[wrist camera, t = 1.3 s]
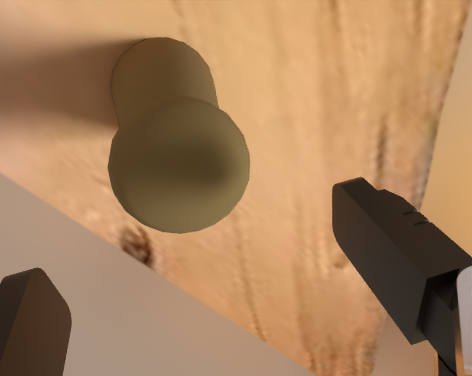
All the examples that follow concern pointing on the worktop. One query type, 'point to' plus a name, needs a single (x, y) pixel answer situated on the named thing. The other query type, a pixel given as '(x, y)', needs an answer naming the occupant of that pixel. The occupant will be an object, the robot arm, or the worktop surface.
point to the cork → (173, 140)
